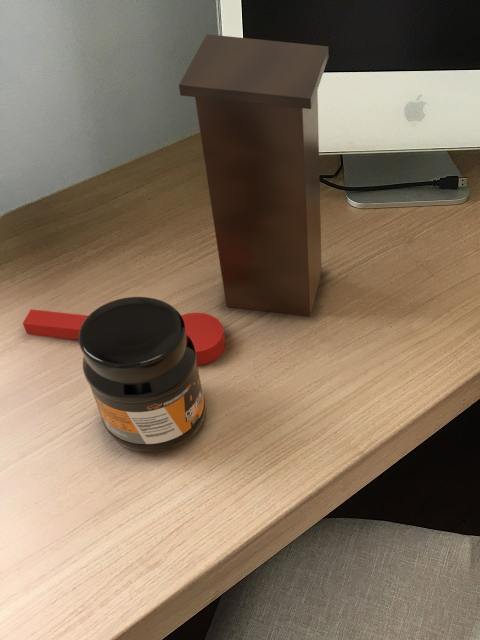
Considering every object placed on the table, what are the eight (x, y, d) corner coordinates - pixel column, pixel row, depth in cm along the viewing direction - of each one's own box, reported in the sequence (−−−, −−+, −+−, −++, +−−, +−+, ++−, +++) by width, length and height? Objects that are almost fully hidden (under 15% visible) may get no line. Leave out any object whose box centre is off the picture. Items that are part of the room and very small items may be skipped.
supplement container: (167, 471, 77) (142, 386, 68) (82, 432, 80) (46, 344, 70) (227, 403, 83) (212, 315, 73) (146, 368, 85) (121, 278, 76)
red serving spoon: (20, 346, 87) (14, 332, 85) (41, 308, 90) (35, 294, 89) (218, 368, 86) (215, 355, 84) (231, 329, 90) (229, 315, 88)
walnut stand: (215, 311, 91) (178, 84, 70) (235, 258, 97) (206, 33, 76) (317, 323, 91) (310, 98, 70) (331, 268, 97) (328, 46, 75)
